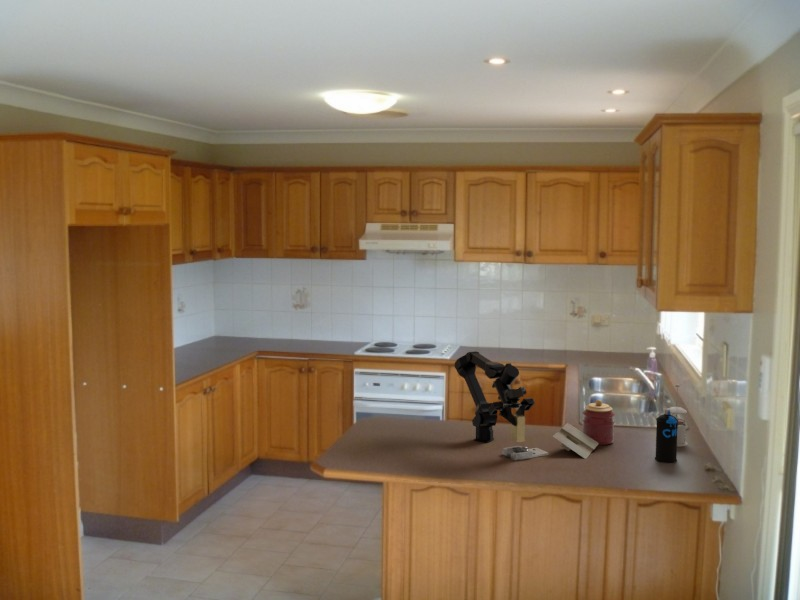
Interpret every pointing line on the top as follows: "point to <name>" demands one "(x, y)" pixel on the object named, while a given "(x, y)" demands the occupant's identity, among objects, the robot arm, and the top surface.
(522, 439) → the tan rectangular pillar
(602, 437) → the canister
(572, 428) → the pale grey slotted block
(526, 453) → the hinge base
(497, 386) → the robot arm
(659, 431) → the aerosol can
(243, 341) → the top surface
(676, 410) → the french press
